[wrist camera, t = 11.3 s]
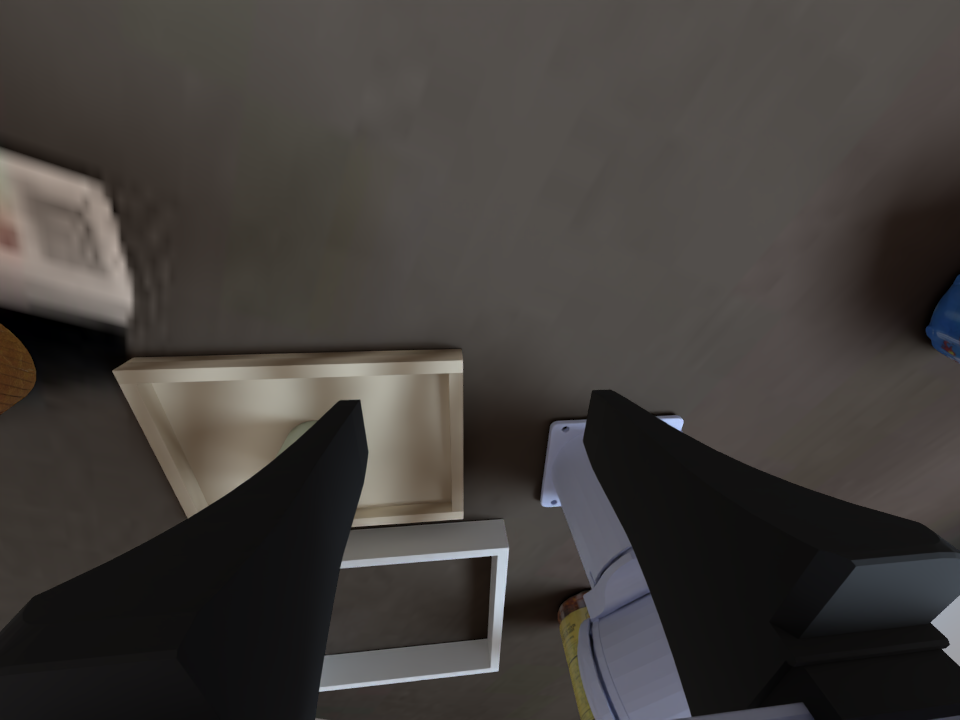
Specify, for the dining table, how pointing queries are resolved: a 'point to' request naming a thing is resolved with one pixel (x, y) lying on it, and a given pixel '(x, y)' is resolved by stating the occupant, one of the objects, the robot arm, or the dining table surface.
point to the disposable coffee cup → (14, 370)
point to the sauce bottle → (574, 646)
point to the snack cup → (947, 323)
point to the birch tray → (301, 398)
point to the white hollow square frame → (433, 658)
